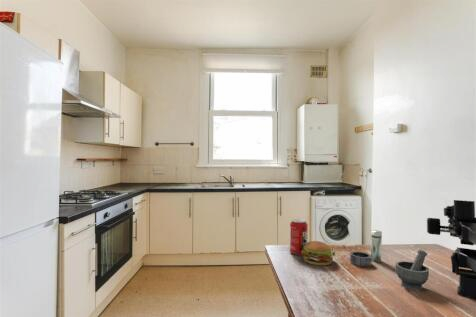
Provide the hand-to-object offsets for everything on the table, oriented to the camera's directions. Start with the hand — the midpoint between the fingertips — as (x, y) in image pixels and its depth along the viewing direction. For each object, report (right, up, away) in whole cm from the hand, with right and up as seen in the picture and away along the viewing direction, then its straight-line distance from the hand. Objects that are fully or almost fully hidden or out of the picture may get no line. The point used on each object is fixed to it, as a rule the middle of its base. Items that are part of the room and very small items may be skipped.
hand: (451, 227), depth 111 cm
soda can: (-59, -15, +14) cm, 63 cm away
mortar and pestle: (-27, -16, -18) cm, 36 cm away
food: (-53, -16, +4) cm, 55 cm away
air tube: (-27, -16, +6) cm, 32 cm away
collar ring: (-36, -16, +3) cm, 39 cm away
